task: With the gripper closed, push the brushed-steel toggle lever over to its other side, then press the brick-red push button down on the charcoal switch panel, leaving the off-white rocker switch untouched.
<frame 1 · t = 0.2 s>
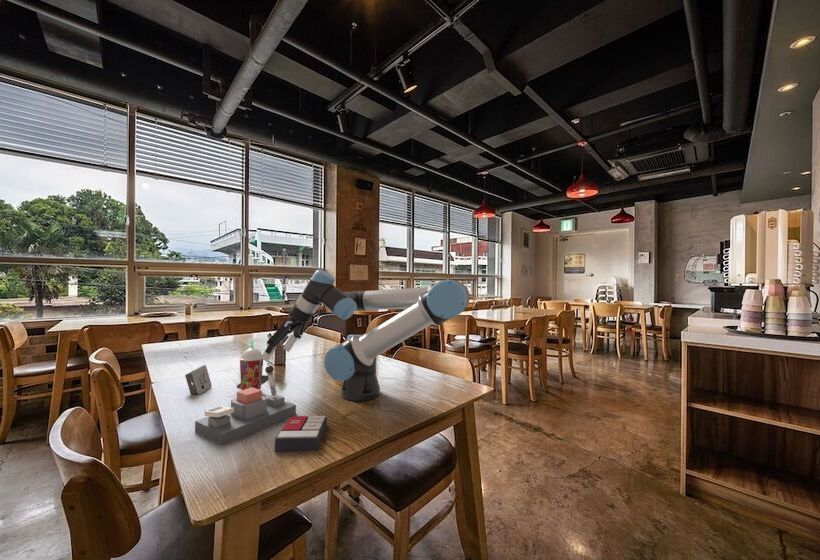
hand: (275, 354, 121), 16 cm above the table, tool tilted 35°, fingers open, 13 cm apart
switch panel: (248, 422, 100), on the table
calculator: (302, 439, 92), on the table
rocker switch: (219, 411, 93), point 6 cm above the table, hinge at 10.0°
phone: (254, 383, 138), on the table
electrical switch: (198, 391, 126), on the table
push button: (249, 397, 100), point 8 cm above the table, slide at 0.0 cm
toggle lever: (270, 375, 109), point 12 cm above the table, hinge at 20.0°
smoothie: (250, 393, 125), on the table
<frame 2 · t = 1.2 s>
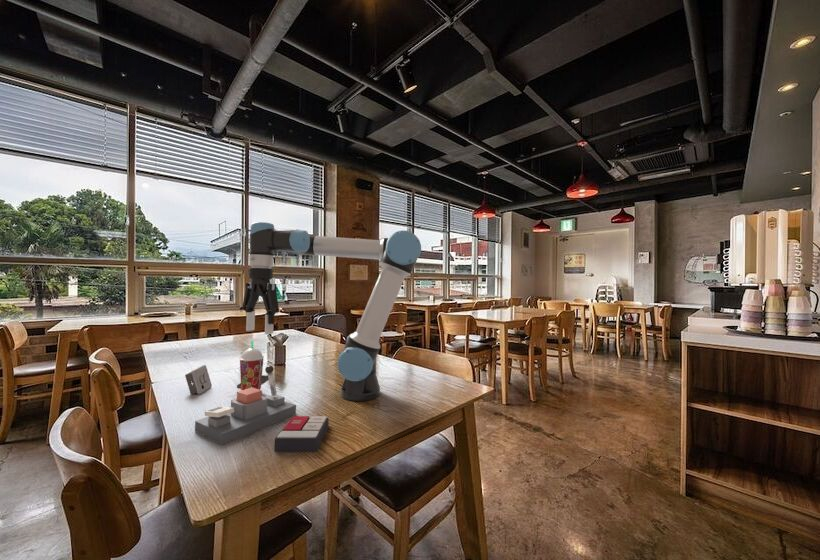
hand: (259, 332, 113), 26 cm above the table, tool pointing down, fingers open, 10 cm apart
nothing on the table moved.
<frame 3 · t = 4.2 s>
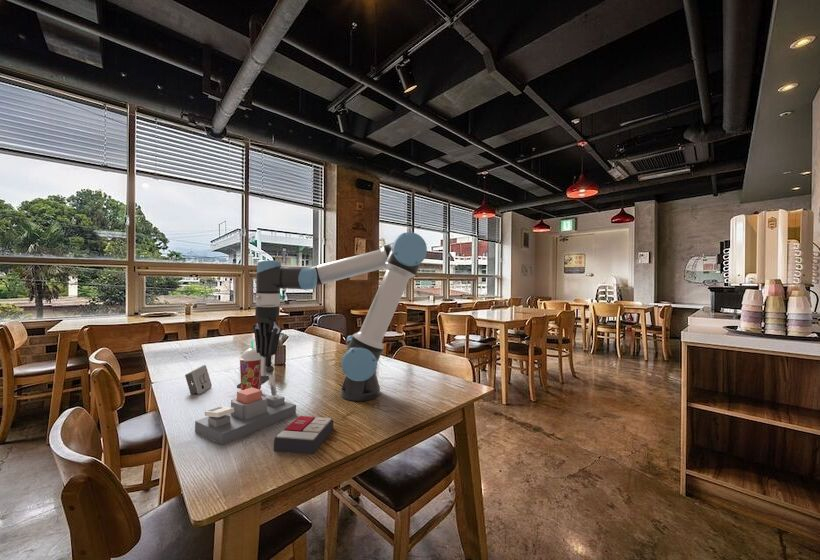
hand: (265, 374, 111), 12 cm above the table, tool pointing down, fingers closed
toggle lever: (271, 375, 109), point 12 cm above the table, hinge at 17.8°, touching gripper
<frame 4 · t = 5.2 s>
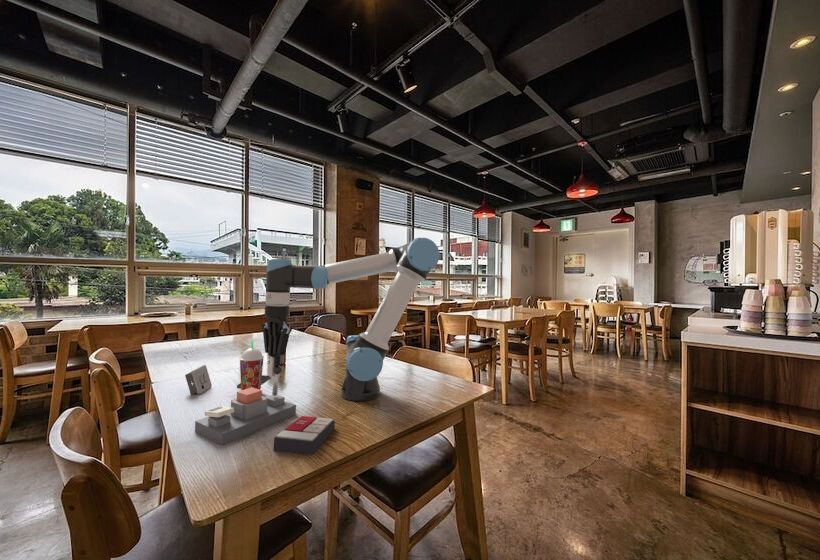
hand: (273, 375, 108), 12 cm above the table, tool pointing down, fingers closed
toggle lever: (276, 376, 107), point 12 cm above the table, hinge at -8.2°, touching gripper
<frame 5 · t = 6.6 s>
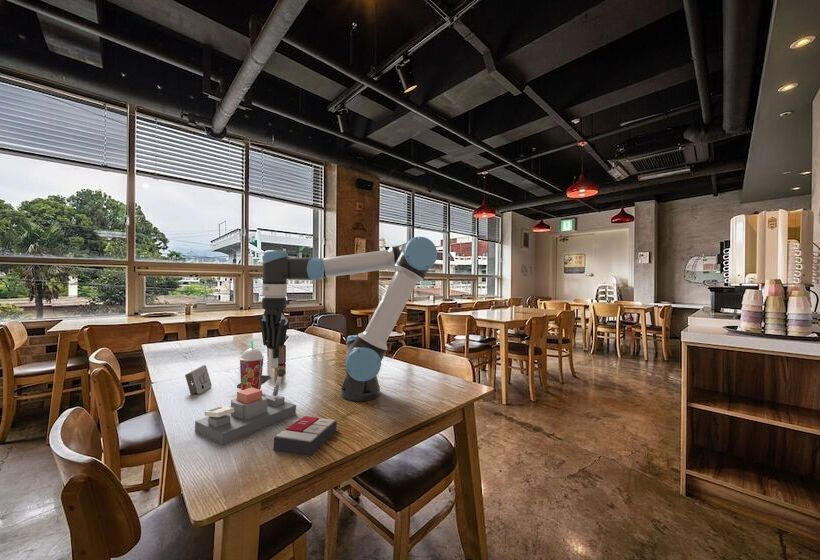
hand: (273, 367, 109), 15 cm above the table, tool pointing down, fingers closed
toggle lever: (279, 377, 107), point 12 cm above the table, hinge at -21.0°
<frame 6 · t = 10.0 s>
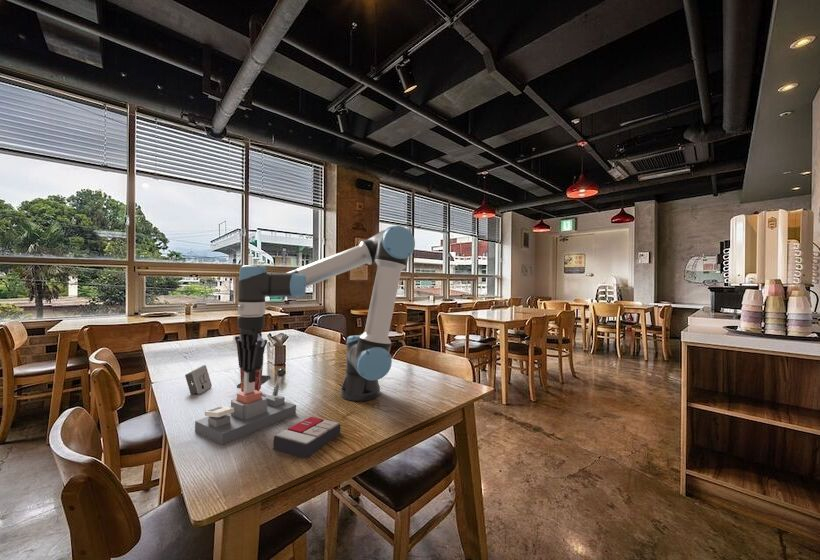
hand: (249, 391, 100), 9 cm above the table, tool pointing down, fingers closed
push button: (249, 399, 100), point 7 cm above the table, slide at 0.6 cm, touching gripper
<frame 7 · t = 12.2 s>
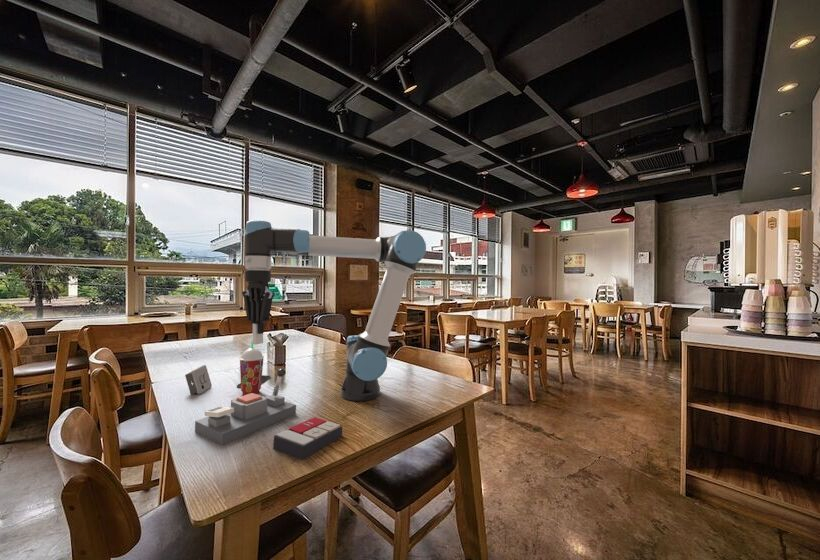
hand: (257, 343, 104), 24 cm above the table, tool pointing down, fingers closed
push button: (249, 403, 100), point 6 cm above the table, slide at 1.8 cm
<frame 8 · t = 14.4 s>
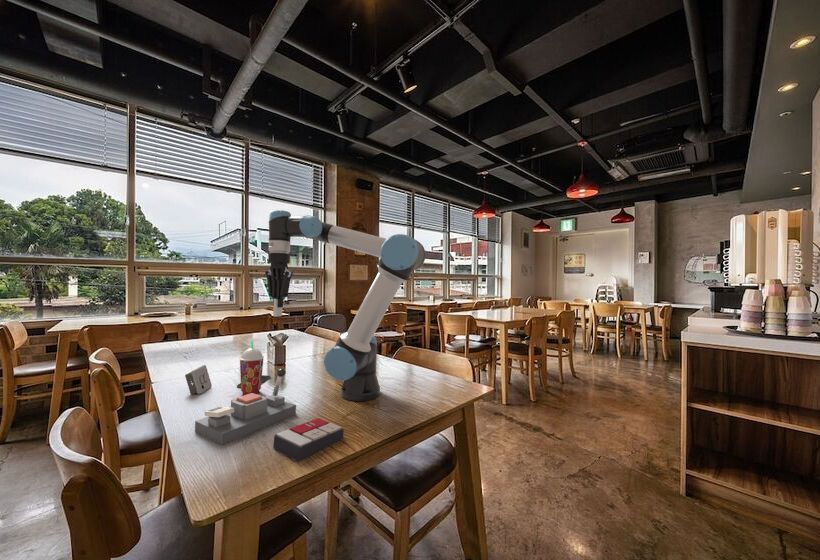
hand: (277, 316, 121), 30 cm above the table, tool pointing down, fingers closed
at the end: toggle lever at -21° (first picture: +20°); push button slide at 1.8 cm; rocker switch at +10° (first picture: +10°) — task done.
